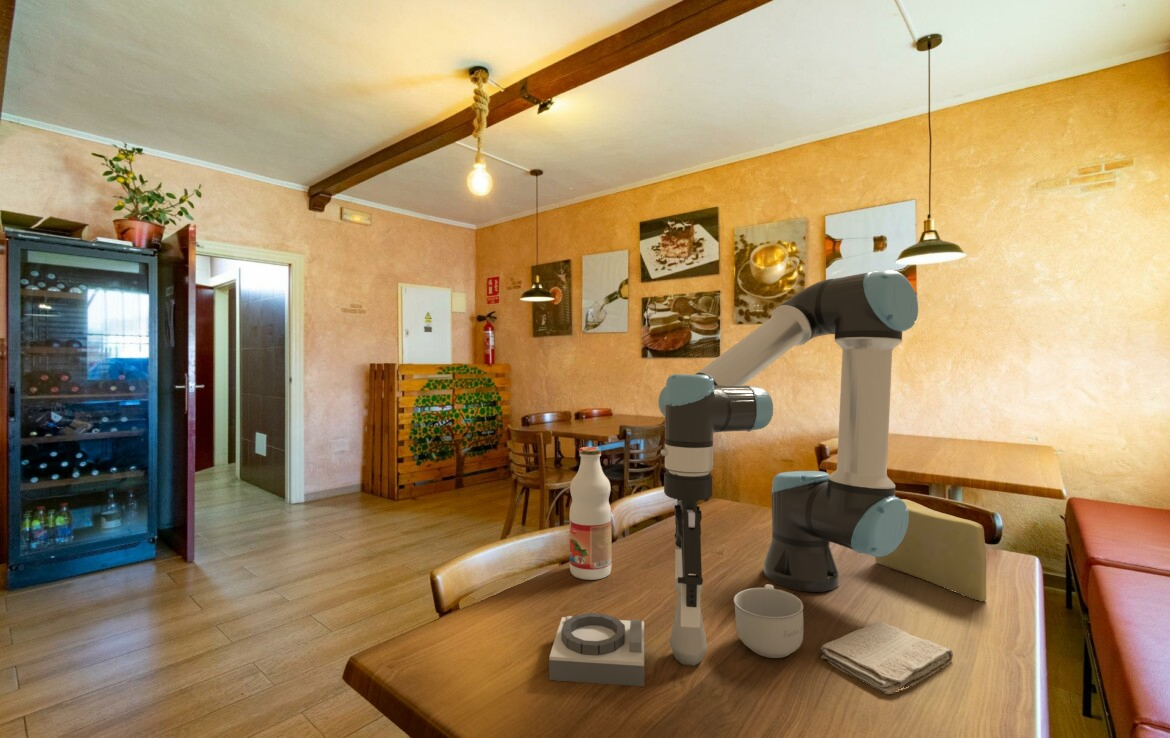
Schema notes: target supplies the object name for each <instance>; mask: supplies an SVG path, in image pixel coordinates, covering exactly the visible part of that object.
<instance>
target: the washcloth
mask: <svg viewBox="0 0 1170 738" xmlns="http://www.w3.org/2000/svg"><path fill="white" fill-rule="evenodd" d="M820 650H821V651H822V653H823V654H822V655H821V656H820V658H821V659H822V660H827V662H828V663H829V664H830V665H831V666H832V667H834V668H836V669H838V670H840V671H841V672H843V673H845V674H847V675H848V674H849V676H851V677H853V676H854V677H853V678H855V677H856V678H855V679H857V678H858V679H859V680H858V679H857V680H858V681H860V680H861V681H860V682H862V681H864V682H865V683H866V684H865V683H864V684H865V685H867V684H868V685H867V686H869V685H870V686H869V687H871V686H872V687H871V688H873V687H874V688H876V689H878V690H880V691H882V692H884V693H883V694H885V695H891V694H894V693H893V692H896V691H898V689H901V688H903V687H904V688H906V687H908V686H912V687H913V686H915V685H917V684H918V683H920V682H922V681H924V680H925V679H927V678H929V677H930V676H932V675H933V674H934V673H936V672H938V671H940V670H941V669H940V668H942V669H943V668H945V667H947V666H948V665H950V663H952V661H953V658H954V653H953V650H952V649H950V648H948V647H946V646H943V645H941V644H938V643H935V642H932V641H931V640H929V639H923V638H920V637H918V636H915V635H914V634H913V635H912V634H909V633H908V632H907V631H904V630H902V629H900V628H898V627H896V626H893V625H891V624H888V623H885V622H882V621H877V622H874V623H871V624H869V625H868V626H864V627H863V628H859V629H856V630H854V631H852V632H849V633H847V634H846V633H845V635H843V636H841V637H839V638H837V639H833V640H831V641H828V642H827V643H825V644H824V643H823V645H822V646H821V647H820ZM946 665H947V666H946ZM939 669H940V670H939ZM931 674H932V675H931ZM928 676H929V677H928ZM926 677H927V678H926ZM924 678H925V679H924ZM923 679H924V680H923ZM921 680H922V681H921ZM919 681H920V682H919ZM916 683H917V684H916ZM874 688H873V689H874ZM876 689H875V690H876ZM878 690H877V691H878ZM880 691H879V692H880ZM882 692H881V693H882Z"/></svg>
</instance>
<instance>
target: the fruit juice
mask: <svg viewBox="0 0 1170 738" xmlns="http://www.w3.org/2000/svg"><path fill="white" fill-rule="evenodd" d="M578 453H579V457H580V462H579V463H580V464H579V468H578V471H576V474H575V475H574V476H573V478H572V480H571V481H570V486H569V487H570V488H569V492H570V496H571V498H572V502H571V504H570V507H569V570H570V571H569V572H570V573H571V575H572V576H573V577H575V578H577V579H581V580H587V581H588V580H589V581H593V580H600V579H604V578H606V577H608V576H609V575H610V574H611V571H612V508H611V505H610V502H609V498H610V494H611V482H610V480H609V478H608V477H607V476H606V475H605V473H604V471H603V467H602V465H601V459H600V457H601V456H602V449H601V447H598V446H597V447H596V446H583V447H580V448H579V451H578Z"/></svg>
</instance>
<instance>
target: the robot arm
mask: <svg viewBox="0 0 1170 738" xmlns="http://www.w3.org/2000/svg"><path fill="white" fill-rule="evenodd" d="M916 293H917V292H916V291H915V289H914V286H913V285H912V284H911V283H910V281H909V279H908V278H907V277H906V276H905V275H904V274H902V273H900V272H899V271H896V270H891V269H889V270H877V271H876V270H875V271H874V270H873V271H872V270H871V271H868V272H864V273H859V274H853V275H848V276H847V275H846V276H842V277H835V278H828V279H825V280H824V279H823V280H821V281H820V280H819V281H817V282H815V283H814V284H812V285H810V286H807V287H805V288H804V289H802V290H801V291H798V292H797V293H796V294H794V295H793V296H791V297H790V298H788V299H786V301H784V302H782V303H781V304H780V305H778V306H777V307H776V308H774V309H773V311H772V312H771V316H770V318H769V319H768V320H766V321H765V322H764V323H762V324H761V325H760V326H758V327H757V328H755V329H754V330H753V331H751V332H750V333H749V334H748V335H746V336H744V338H742V339H740V340H739V341H738V342H736V343H735V344H734V345H733V346H731V347H730V348H728V349H727V350H726V351H724V352H723V353H722V354H720V355H719V356H718V357H716V358H714V360H712V361H711V362H709V363H708V364H707V365H705V366H704V367H703V368H702V369H700V370H698V371H697V372H696V373H694V374H682V373H681V374H676V373H675V374H671V375H669V376H668V377H667V379H666V382H665V386H664V387H663V388H662V389H661V391H660V393H659V397H658V408H659V410H660V412H661V414H662V416H663V417H664V443H665V445H664V447H665V448H664V449H661V450H660V455H661V456H664V468H665V469H666V471H665V472H664V473H663V478H664V479H663V492H664V494H665V496H667V497H668V498H670V499H673V500H676V504H674V508H673V510H674V512H673V513H674V520H675V521H674V522H675V524H674V525H675V534H674V538H675V546H676V547H675V558H674V559H675V564H674V565H675V569H674V571H675V573H674V580H675V579H676V578H677V577H678V576H679V575H682V574H683V576H682V577H678V583H681V627H695V628H700V609H701V594H700V585H702V586H703V582H704V578H703V577H702V575H703V572H702V570H703V569H702V544H701V543H702V542H701V535H702V528H701V522H702V517H703V516H702V515H703V514H702V510H700V509H701V507H700V506H698V504H697V502H699V501H706V500H708V499H711V497H712V496H713V475H712V473H710V472H711V471H713V470H714V433H721V432H723V433H724V432H751V431H756V430H762V429H764V428H765V427H766V426H768V425H769V424H770V422H771V420H772V419H773V415H774V403H773V400H772V397H771V395H770V394H769V392H768V391H767V390H766V389H764V388H763V387H760V386H751V385H746V384H748V383H749V382H750V381H751V380H753V379H754V378H755V377H757V375H759V374H760V373H761V372H763V371H764V370H765V369H767V368H768V367H769V366H771V364H773V363H774V362H775V361H777V360H778V359H779V358H780V357H782V356H783V355H785V354H786V353H787V352H788V351H789V350H791V349H792V348H794V346H803V345H805V344H807V343H808V341H810V340H813V339H814V338H817V337H822V336H827V335H834V343H836V344H837V345H838V346H839V347H840V348H841V350H842V352H841V353H842V355H841V375H840V376H841V377H840V395H839V396H840V398H839V399H840V400H839V415H838V419H839V421H838V435H837V436H838V438H837V459H836V461H837V462H836V469H835V470H834V471H833V472H832V473H830V474H829V473H828V472H825V471H818V470H817V471H816V470H797V471H796V470H795V471H785V472H780V473H777V474H775V475H774V477H773V478H772V487H771V489H772V490H771V530H772V532H771V534H772V535H771V542H770V544H769V547H768V550H767V552H766V555H765V558H764V562H763V574H764V576H765V577H766V579H768V580H769V581H771V582H772V583H774V584H776V585H778V586H781V587H783V588H786V589H790V590H795V591H800V592H808V593H809V592H810V593H823V592H828V591H832V590H834V589H836V588H838V586H839V584H840V581H839V579H840V578H839V577H840V575H839V574H840V573H839V570H838V567H837V563H836V561H835V558H834V555H833V551H832V549H831V545H830V543H832V544H835V545H839V546H842V547H845V548H847V549H850V550H852V551H854V552H856V553H858V554H865V555H868V556H872V557H875V556H876V557H882V556H886V555H888V554H890V553H892V552H893V551H894V550H895V549H896V548H897V547H898V546H899V544H900V543H901V542H902V540H903V538H904V536H905V534H906V531H907V528H908V523H909V512H908V509H907V508H906V504H905V503H904V501H902V500H901V498H900V497H897V496H896V484H895V483H894V482H893V481H892V480H891V478H889V477H888V473H887V471H888V469H887V468H888V455H889V452H888V450H889V430H890V409H891V407H890V406H891V386H892V382H891V381H892V363H893V362H892V361H893V351H894V350H895V349H896V348H897V347H898V346H899V345H901V343H902V342H903V332H906V331H908V330H910V329H911V328H913V326H914V325H915V321H916V320H917V319H918V315H919V305H918V304H919V302H918V298H917V295H916ZM688 574H691V575H688Z"/></svg>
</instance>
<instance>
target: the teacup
mask: <svg viewBox="0 0 1170 738" xmlns="http://www.w3.org/2000/svg"><path fill="white" fill-rule="evenodd" d="M733 604H734V613H735V615H734V616H735V625H736V631H737V634H738V637H739V639H740V641H741V642H742V643H743V644H744V645H745V646H746V647H748V648H749V649H750V650H751V651H752V652H754V653H755V654H757V655H759V656H760V657H761V656H762V657H765V658H770V659H781V658H785V657H787V656H789V655H791V654H792V653H794V652H795V651H797V650H798V649H799V648H800V646H801V645H802V644H803V639H804V612H803V610H804V604H803V601H802V600H801V599H800V598H799V597H798V596H796V595H795V594H793V593H791V592H789V591H785V590H782V589H776V588H775V587H774V585H773V584H765V585H764V587H751V588H747V589H743V590H740V591H739V592H737V593H736V594H735V595H734V597H733Z"/></svg>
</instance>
